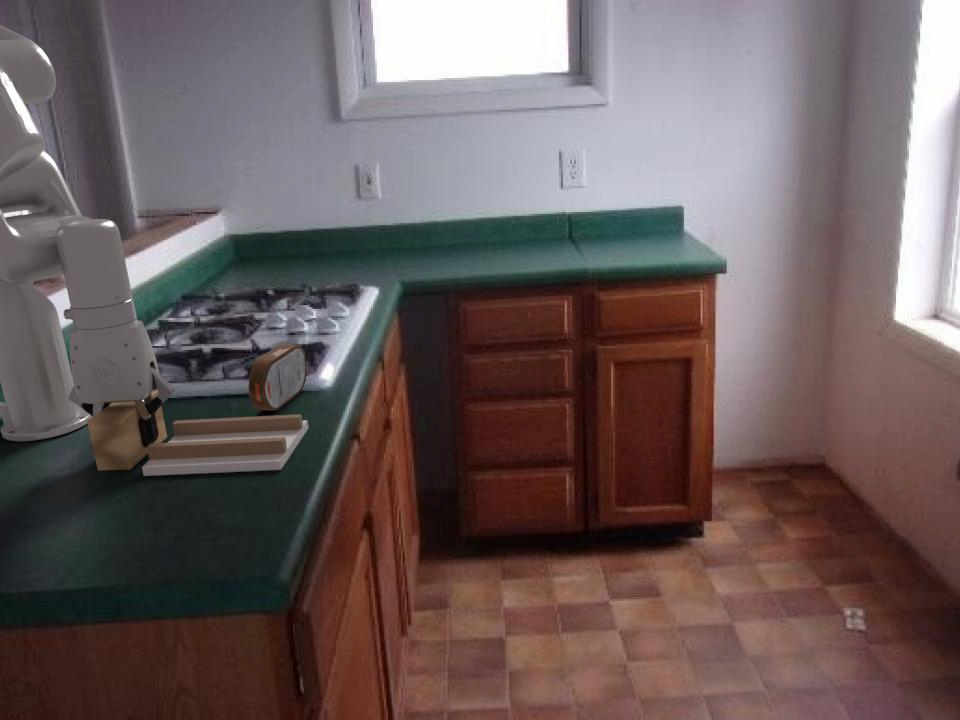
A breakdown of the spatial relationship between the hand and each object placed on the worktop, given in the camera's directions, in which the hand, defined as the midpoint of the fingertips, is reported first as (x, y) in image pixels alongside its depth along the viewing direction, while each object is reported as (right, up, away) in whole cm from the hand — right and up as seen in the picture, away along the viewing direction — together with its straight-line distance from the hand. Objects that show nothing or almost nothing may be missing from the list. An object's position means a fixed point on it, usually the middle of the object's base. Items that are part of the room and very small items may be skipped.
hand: (132, 443), depth 118 cm
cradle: (+14, -1, -2) cm, 14 cm away
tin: (+17, +5, +16) cm, 24 cm away
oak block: (0, -1, 0) cm, 1 cm away
